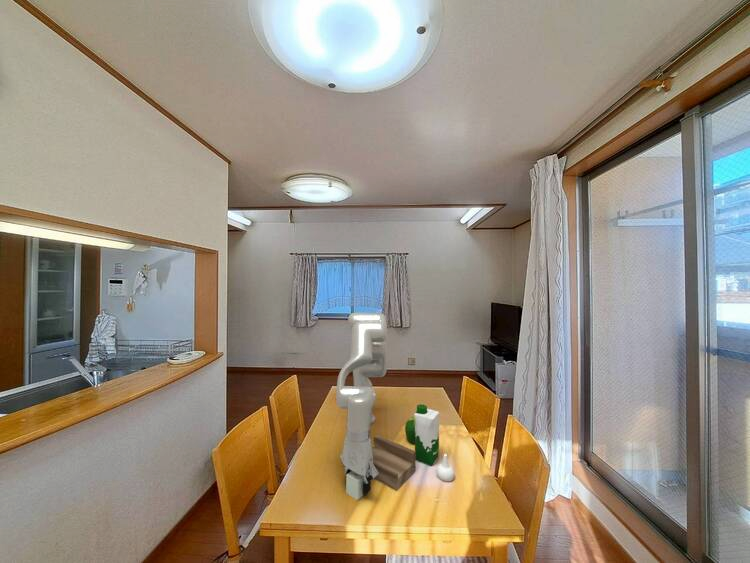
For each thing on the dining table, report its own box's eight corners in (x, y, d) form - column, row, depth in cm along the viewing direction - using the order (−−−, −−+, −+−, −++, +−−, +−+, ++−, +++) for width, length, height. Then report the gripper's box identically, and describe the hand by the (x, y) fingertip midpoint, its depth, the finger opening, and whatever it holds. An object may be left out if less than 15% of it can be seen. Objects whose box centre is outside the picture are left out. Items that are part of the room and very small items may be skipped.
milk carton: (420, 449, 114) (420, 401, 114) (441, 456, 109) (441, 406, 110) (411, 460, 106) (412, 409, 107) (433, 468, 102) (434, 414, 102)
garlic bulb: (435, 471, 101) (433, 450, 101) (452, 470, 101) (450, 449, 101) (438, 484, 95) (436, 460, 95) (456, 483, 94) (454, 459, 95)
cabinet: (346, 493, 89) (346, 471, 89) (358, 482, 94) (358, 462, 94) (357, 500, 86) (357, 478, 86) (369, 489, 91) (369, 468, 91)
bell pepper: (423, 447, 115) (423, 423, 116) (404, 445, 117) (404, 421, 117) (424, 437, 124) (424, 414, 124) (406, 434, 125) (406, 412, 125)
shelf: (376, 452, 112) (377, 434, 112) (415, 470, 101) (415, 451, 101) (355, 468, 101) (356, 449, 102) (396, 490, 90) (396, 469, 91)
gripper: (332, 429, 93) (331, 482, 93) (372, 447, 82) (371, 507, 82) (347, 420, 99) (346, 470, 98) (386, 437, 88) (385, 493, 88)
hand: (357, 487), depth 90 cm, fingers open, 6 cm apart
